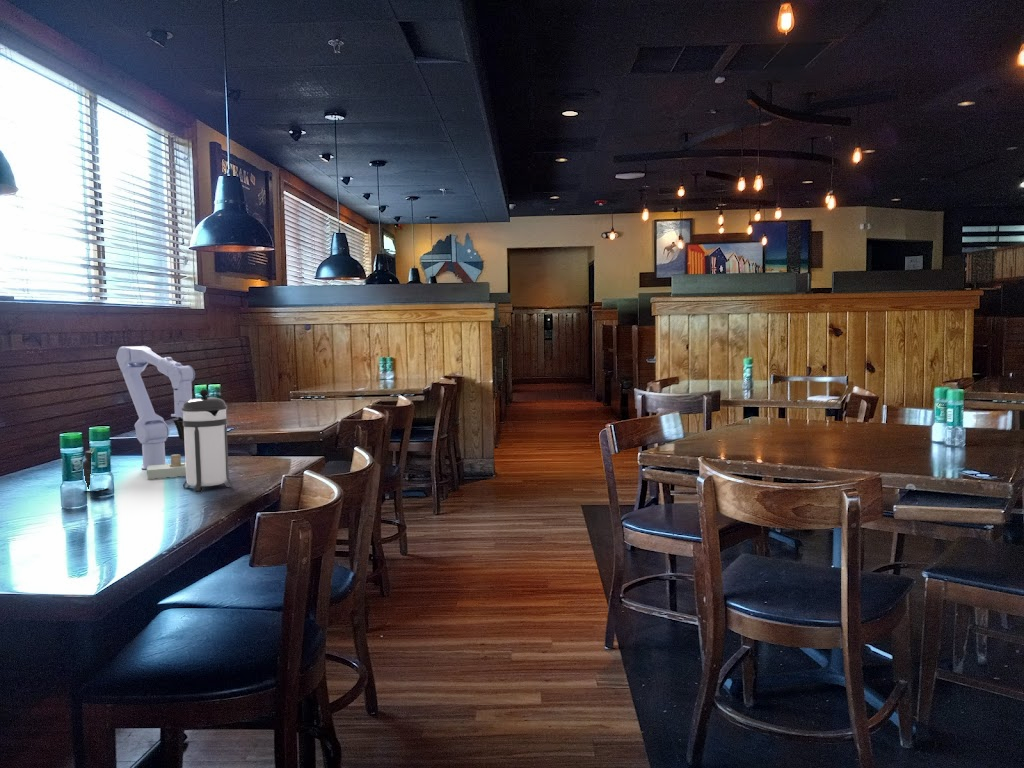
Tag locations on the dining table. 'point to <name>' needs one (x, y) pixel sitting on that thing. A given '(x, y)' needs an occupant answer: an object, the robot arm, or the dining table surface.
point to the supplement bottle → (87, 467)
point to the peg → (175, 460)
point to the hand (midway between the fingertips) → (185, 440)
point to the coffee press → (205, 442)
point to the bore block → (165, 471)
